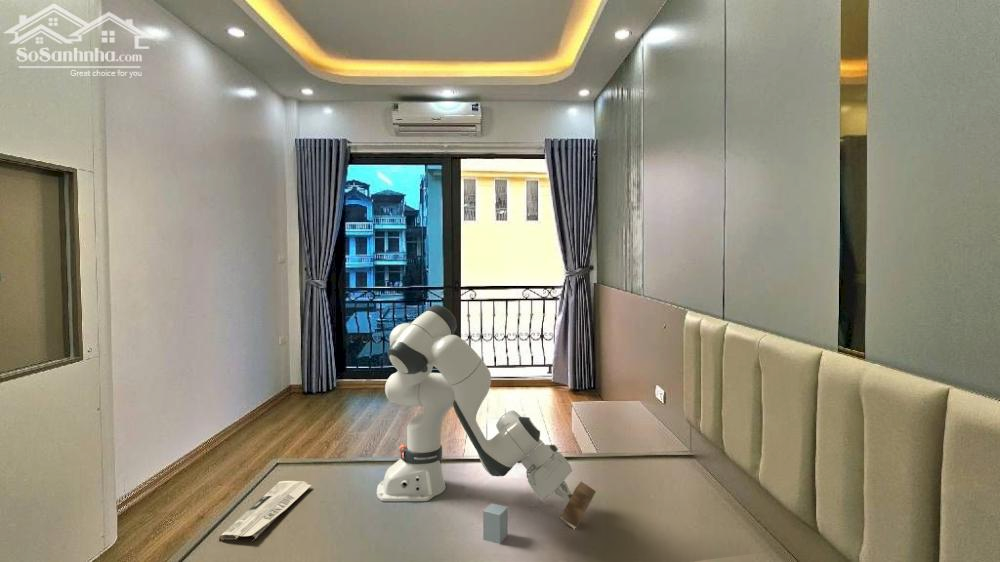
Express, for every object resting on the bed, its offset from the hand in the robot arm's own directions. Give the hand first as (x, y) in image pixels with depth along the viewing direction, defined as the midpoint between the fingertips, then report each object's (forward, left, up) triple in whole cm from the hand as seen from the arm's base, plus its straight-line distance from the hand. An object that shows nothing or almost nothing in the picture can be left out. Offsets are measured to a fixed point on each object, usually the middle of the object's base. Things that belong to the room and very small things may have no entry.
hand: (569, 498), depth 151 cm
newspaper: (-86, +25, -8) cm, 90 cm away
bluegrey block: (-22, -3, -7) cm, 24 cm away
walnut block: (0, 0, -6) cm, 6 cm away
